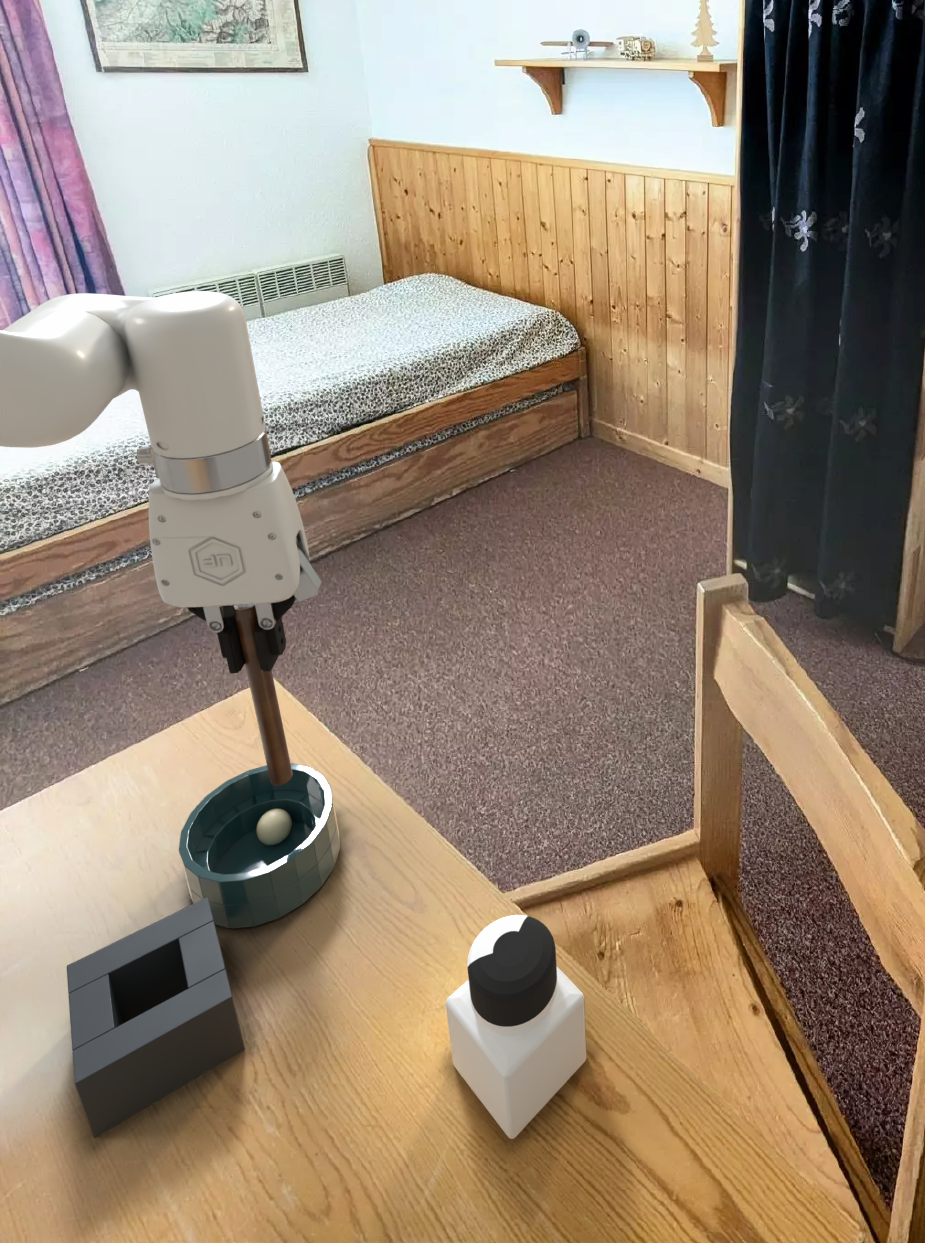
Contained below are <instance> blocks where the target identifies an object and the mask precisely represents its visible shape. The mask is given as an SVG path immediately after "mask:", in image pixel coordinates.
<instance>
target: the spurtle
mask: <svg viewBox="0 0 925 1243" xmlns="http://www.w3.org/2000/svg"><path fill="white" fill-rule="evenodd" d="M233 611H234V616H235V620H236V625H237V630H238V634H239V639H240V643H241V648H242V653H243V657H244V662H245V664H244V666H245V671H246V675H247V681H248V684H249V690H250V694H251V698H252V703H253V708H254V712H255V718H256V722H257V726H258V730H259V736H260V739H261V740H260V741H261V745H262V749H263V754H264V759H265V763H266V765H267V768H268V773H269V777H270V782H271V783H272V784H273V785H276V786H278V785H283V784H285V783H287V782H288V781H289V780H290V779H291V778H292V775H293V773H292V768H291V763H292V762H291V758H290V753H289V748H288V744H287V739H286V733H285V729H284V724H283V720H282V715H281V709H280V704H279V699H278V695H277V689H276V685H275V681H274V680H275V679H274V676H273V669H272V670H271V671H267V672H263V670H261V668H260V663H259V659H258V654H257V649H256V644H255V640H254V631H255V629H256V627H257V625H258V621H257V620H258V618H257V613H256V607H255V604H249V605H233Z"/></svg>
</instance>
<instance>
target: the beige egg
mask: <svg viewBox="0 0 925 1243" xmlns="http://www.w3.org/2000/svg"><path fill="white" fill-rule="evenodd" d="M291 826H292V820H291V817H290V815H289V814H288V813H287V812H286V811H285V810H283V809H272V810H270V811H268V812H266V813H265V814H264V815H263V816H262V817H261V818H260V820H259V822H258V824H257V830H256V831H257V836H258V838H259V840H260V841H261V842H262V843H264V844H266V845H276V844H278V843H280V842H282V841H283V840H284V839H285V838H286V837H287V836H288V834H289V833H290V830H291Z"/></svg>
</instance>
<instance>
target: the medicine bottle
mask: <svg viewBox="0 0 925 1243" xmlns="http://www.w3.org/2000/svg"><path fill="white" fill-rule="evenodd" d="M556 950H557V949H556V942H555V938H554V936H553V934H552V932H551V931H550V929H549V928H548V927H547V926H546V925H545V924H544V923H543V922H542V921H541V920H539V919H537V918H535V917H532V916H530V915H526V914H525V915H524V914H512V915H511V914H510V915H507V916H503V917H500V918H498V919H496V920H494V921H493V922H491V923H490V924H488V925H487V926H486V927H484V928H483V929H482V930H481V931H480V932H479V933H478V935H477V936H476V938H475V939H474V941H473V942H472V944H471V947H470V949H469V952H468V956H467V962H466V963H467V965H466V966H467V967H466V968H467V978H468V979H467V980H465V982H463V984H461V986H459V987H458V988H457V989H456V990H455V991H453V992H452V994H450V995H449V996H448V997H447V999H446V1001H445V1008H446V1009H445V1010H446V1016H447V1017H446V1018H447V1024H448V1025H447V1026H448V1032H449V1033H448V1034H449V1043H450V1050H451V1059H452V1066H453V1067H454V1068H455V1070H457V1072H458V1074H459V1075H460V1076H461V1077H462V1079H463V1081H465V1082H466V1084H467V1085H468V1087H469V1088H470V1089H471V1091H472V1092H473V1093H474V1095H475V1096H476V1097H477V1099H478V1100H479V1101H480V1103H482V1105H483V1106H484V1107H485V1109H486V1110H487V1111H488V1113H489V1114H490V1115H491V1117H492V1118H493V1119H494V1121H495V1122H496V1123H497V1125H498V1126H499V1127H500V1129H501V1130H502V1131H503V1132H504V1134H505V1135H506V1137H507V1138H508V1139H510V1140H514V1139H516V1138H517V1137H518V1135H520V1133H521V1132H522V1131H523V1130H524V1129H525V1128H526V1126H528V1125H529V1123H530V1122H531V1121H533V1119H534V1118H535V1117H536V1116H537V1114H538V1113H539V1112H540V1111H541V1110H542V1109H543V1108H544V1107H545V1106H546V1105H547V1104H548V1103H549V1102H550V1100H551V1099H552V1098H553V1097H554V1096H556V1094H557V1093H558V1092H559V1091H560V1089H562V1087H563V1086H564V1085H565V1084H566V1083H567V1082H568V1081H569V1080H570V1079H571V1077H573V1075H574V1074H575V1073H576V1072H577V1071H578V1070H579V1069H580V1068H581V1066H583V1064H584V1063H585V1062H586V1060H587V1034H586V1033H587V1031H586V1009H585V1008H586V1007H585V1006H586V1005H585V995H584V993H583V992H582V991H581V990H580V989H579V988H578V986H576V984H575V983H574V982H573V981H572V980H571V979H570V978H569V977H568V976H567V975H566V974H565V973H564V972H563V971H562V970H561V969H560V968H559V966H557V951H556Z"/></svg>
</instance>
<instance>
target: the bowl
mask: <svg viewBox="0 0 925 1243" xmlns="http://www.w3.org/2000/svg"><path fill="white" fill-rule="evenodd" d="M290 763H291V768H292V773H293V775H292V778H291V779H290V780H289V781H288V782H287V783H285V784H283V785H278V786H276V785H273V784H272V783H271V782H270V777H269V773H268V768H267V764H266V765H263V766H258V767H256V768H251V769H249V770H246V771H244V772H241V773H240V774H238V775H236V776H234V777H231V778H229V779H227V780H226V781H223V783H221V784H220V785H219V786H218V787H216V788H214V789H213V790H212V791H211V792H209V793H208V794H206V795H205V796H204V797H203V799H202V800H201V801H200V802H199V803H198V804H197V805H196V806H195V807H194V808H193V810H192V811H191V812H190V813H189V815H188V817H187V819H186V821H185V823H184V825H183V827H182V829H181V831H180V834H179V835H180V836H179V844H178V854H179V857H180V860H181V861H180V862H181V865H182V869H183V873H184V877H185V881H186V885H187V888H188V893H189V896H190V900H191V901H192V902H191V903H192V904H194V903H196V902H198V901H200V900H202V899H204V898H206V897H208V898H209V902H210V906H211V910H212V914H213V918H214V922H215V926H219V927H223V928H228V929H239V928H253V927H257V926H261V925H263V924H266V923H270V922H272V921H275V920H277V919H278V920H279V919H280V918H282V917H284V916H285V915H287V914H289V913H290V912H292V911H294V910H296V909H298V907H300V906H302V905H304V904H305V903H306V902H307V901H308V900H309V899H310V898H311V897H312V896H313V895H314V894H316V892H318V891H319V890H320V889H321V887H322V886H323V885H324V884H325V882H326V880H327V879H328V877H329V876H330V874H331V873H332V872H333V870H334V869H335V866H336V863H337V859H338V856H339V853H340V851H341V840H340V831H339V826H338V825H339V824H338V818H337V813H336V808H335V802H334V801H335V800H334V795H333V790H332V787H331V785H330V783H329V782H328V780H327V779H326V777H325V776H324V774H322V773H320V772H319V771H318V770H316V769H314V768H313V767H311V766H308V765H303V764H298V763H294V762H290ZM272 809H283V810H285V811H286V812H287V813H288V814H289V815H290V817H291V820H292V826H291V830H290V833H289V834H288V836H287V837H286V838H285V839H284V840H283V841H282V842H280V843H278V844H276V845H266V844H264V843H262V842H261V841H260V840H259V838H258V836H257V831H256V830H257V824H258V822H259V820H260V818H261V817H262V816H263V815H264V814H265V813H266V812H268V811H270V810H272Z"/></svg>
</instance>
